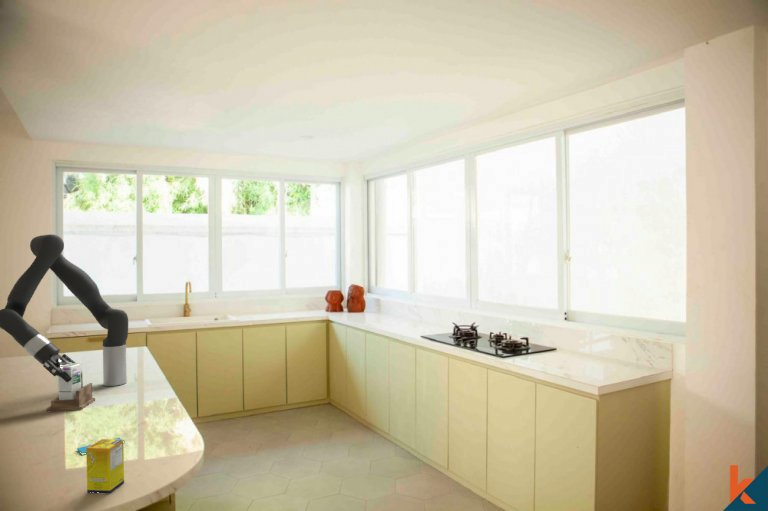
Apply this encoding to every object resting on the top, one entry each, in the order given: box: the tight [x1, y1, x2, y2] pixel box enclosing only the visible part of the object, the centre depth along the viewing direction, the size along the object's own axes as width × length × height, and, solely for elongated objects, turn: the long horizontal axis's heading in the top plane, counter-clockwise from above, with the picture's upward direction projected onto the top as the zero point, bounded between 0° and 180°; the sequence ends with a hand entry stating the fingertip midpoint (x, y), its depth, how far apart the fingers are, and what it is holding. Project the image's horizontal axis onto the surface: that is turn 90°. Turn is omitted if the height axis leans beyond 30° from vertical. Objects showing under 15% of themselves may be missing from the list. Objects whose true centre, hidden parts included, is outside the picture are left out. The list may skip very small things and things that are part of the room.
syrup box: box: [57, 362, 84, 400], centre depth 194 cm, size 6×6×14 cm
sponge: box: [76, 437, 125, 453], centre depth 151 cm, size 2×12×6 cm
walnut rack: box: [46, 382, 96, 413], centre depth 194 cm, size 12×12×7 cm
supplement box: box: [86, 438, 125, 494], centre depth 124 cm, size 6×6×11 cm
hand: (75, 377), depth 194 cm, fingers open, 8 cm apart
